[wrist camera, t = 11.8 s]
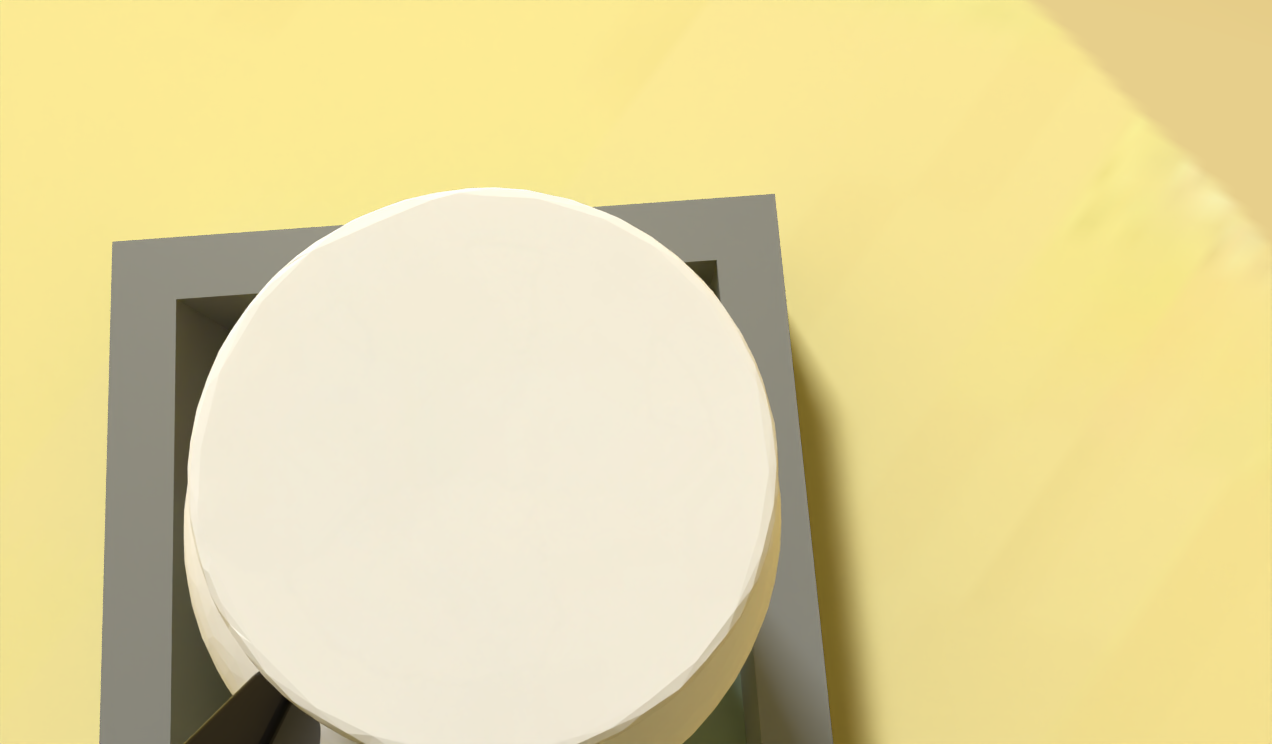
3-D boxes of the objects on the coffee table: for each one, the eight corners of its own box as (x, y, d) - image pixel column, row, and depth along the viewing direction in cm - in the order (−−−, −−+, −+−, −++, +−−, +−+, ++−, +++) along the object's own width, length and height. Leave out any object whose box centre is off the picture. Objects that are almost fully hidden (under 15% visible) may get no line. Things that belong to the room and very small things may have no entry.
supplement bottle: (312, 410, 21) (51, 75, 8) (636, 385, 22) (831, 56, 9) (326, 761, 19) (28, 991, 7) (674, 715, 20) (968, 842, 8)
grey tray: (807, 785, 21) (842, 828, 17) (190, 833, 20) (95, 888, 17) (753, 253, 23) (774, 194, 19) (195, 293, 23) (111, 241, 19)
